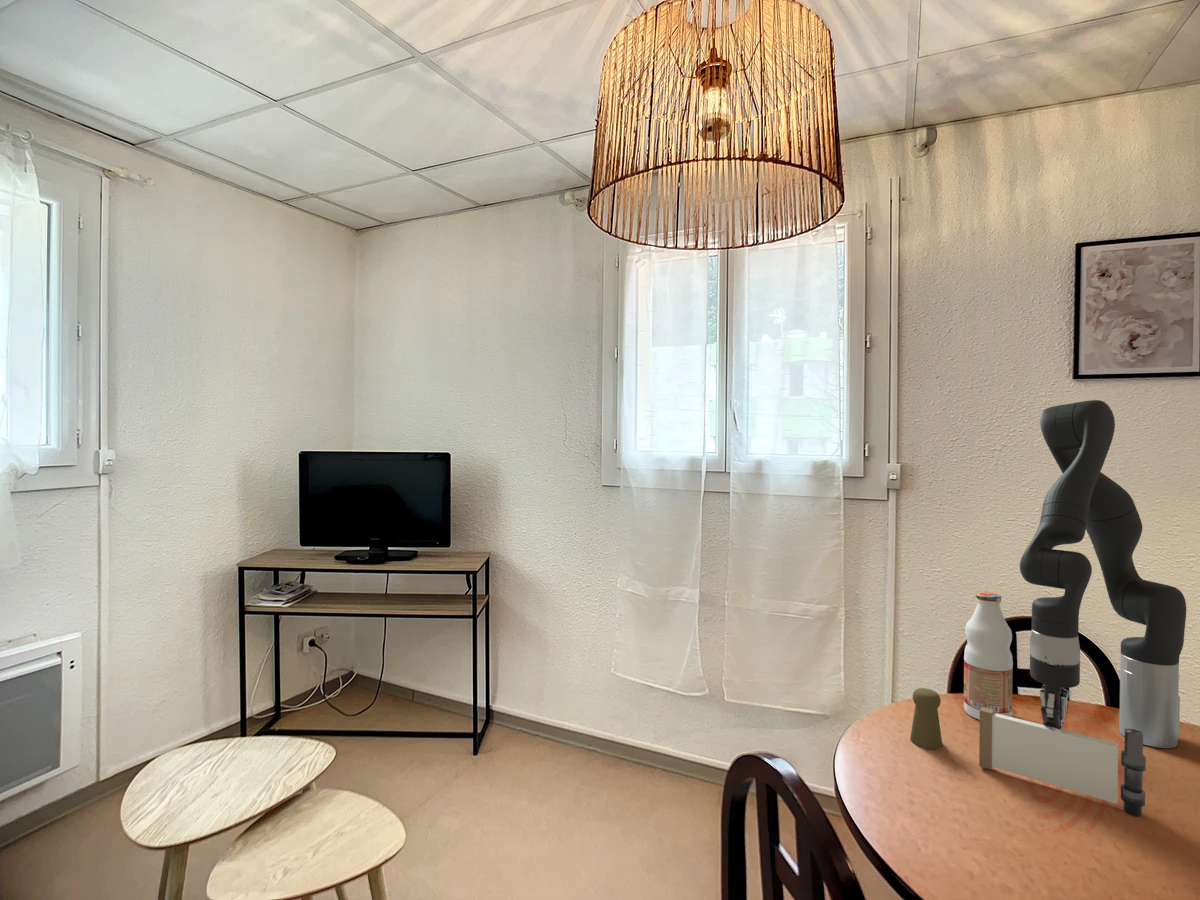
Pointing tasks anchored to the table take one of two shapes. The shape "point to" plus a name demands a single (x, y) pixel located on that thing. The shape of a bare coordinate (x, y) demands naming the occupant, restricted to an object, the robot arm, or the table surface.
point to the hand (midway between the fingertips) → (1053, 745)
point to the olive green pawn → (926, 719)
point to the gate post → (1133, 773)
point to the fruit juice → (988, 659)
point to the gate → (1049, 755)
